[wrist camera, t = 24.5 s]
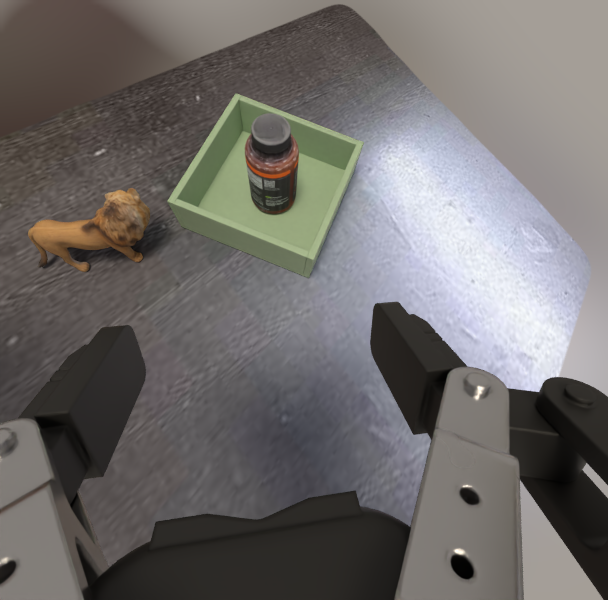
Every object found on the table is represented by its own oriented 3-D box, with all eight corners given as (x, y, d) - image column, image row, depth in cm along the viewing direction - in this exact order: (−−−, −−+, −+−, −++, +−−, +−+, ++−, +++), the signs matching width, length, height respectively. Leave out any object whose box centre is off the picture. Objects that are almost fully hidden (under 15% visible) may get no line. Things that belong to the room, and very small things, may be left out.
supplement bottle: (284, 171, 43) (286, 97, 33) (303, 206, 42) (312, 141, 31) (243, 186, 42) (232, 113, 32) (261, 222, 41) (255, 159, 30)
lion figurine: (162, 218, 41) (132, 170, 32) (172, 254, 39) (143, 214, 31) (39, 250, 38) (-31, 207, 30) (45, 290, 37) (-26, 257, 28)
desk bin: (181, 226, 40) (166, 201, 35) (240, 128, 46) (235, 92, 40) (308, 278, 40) (313, 260, 35) (353, 172, 45) (364, 142, 40)
